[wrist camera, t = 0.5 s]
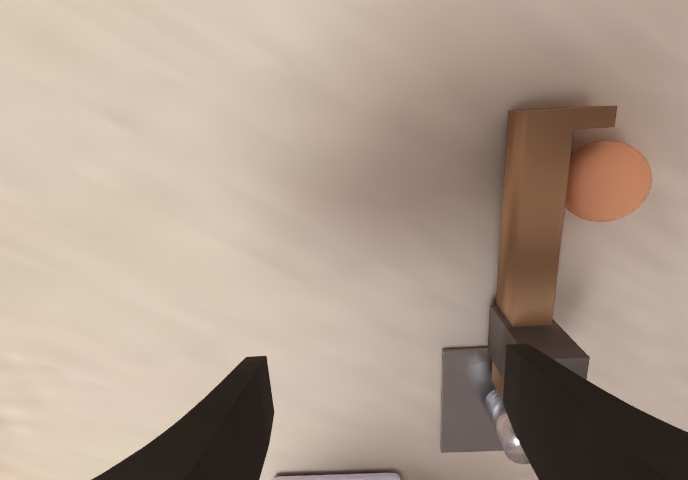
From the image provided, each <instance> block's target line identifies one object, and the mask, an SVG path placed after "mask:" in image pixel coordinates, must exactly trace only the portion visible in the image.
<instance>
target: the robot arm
mask: <svg viewBox="0 0 688 480" xmlns="http://www.w3.org/2000/svg"><path fill="white" fill-rule="evenodd" d="M503 404H504V407H505V410H506V413H507V415H508V418H509V421H510V423H511V426H512V428H513V431H514V433H515V435H516V437H517V439H518V441H519V443H520V445H521V447H522V449H523V451H524V453H525V454H526V456H527V458H528V460H529V462H530V464H531V466H532V468H533V469H534V471H535V473H536V475H537V477H538V479H539V480H688V432H686V431H683V430H681V429H679V428H677V427H674V426H672V425H670V424H668V423H666V422H664V421H662V420H659V419H657V418H655V417H653V416H651V415H649V414H647V413H645V412H643V411H641V410H639V409H637V408H635V407H633V406H631V405H629V404H627V403H626V402H624V401H622V400H620V399H618V398H617V397H615V396H613V395H611V394H609V393H608V392H606V391H604V390H602V389H601V388H599V387H597V386H596V385H594V384H592V383H590V382H589V381H587V380H586V379H584V378H582V377H581V376H579V375H577V374H576V373H574V372H573V371H571V370H569V369H568V368H566V367H565V366H563V365H562V364H560V363H558V362H557V361H555V360H554V359H552V358H551V357H549V356H547V355H546V354H544V353H543V352H541V351H539V350H538V349H536V348H534V347H533V346H531V345H529V344H506V358H505V373H504V388H503ZM273 416H274V407H273V400H272V393H271V386H270V379H269V372H268V365H267V357H266V356H256V357H246V358H245V359H244V360H243V361H242V362H241V363H240V364H239V365H238V366H237V367H236V368H235V369H234V370H233V371H232V372H231V373H230V374H229V375H228V376H227V377H226V378H225V379H224V380H223V381H222V382H221V383H220V384H219V385H218V386H216V387H215V388H214V389H213V390H212V391H211V392H210V393H209V394H208V395H207V396H206V397H205V398H204V399H203V400H202V401H201V402H199V403H198V404H197V405H196V406H195V407H194V408H193V409H191V410H190V411H189V412H188V413H187V414H186V415H185V416H183V417H182V418H181V419H180V420H179V421H178V422H176V423H175V424H174V425H173V426H171V427H170V428H169V429H168V430H166V431H165V432H164V433H162V434H161V435H160V436H158V437H157V438H156V439H154V440H153V441H152V442H150V443H149V444H147V445H146V446H145V447H143V448H142V449H140V450H139V451H137V452H135V453H134V454H132V455H131V456H129V457H128V458H126V459H125V460H123V461H122V462H120V463H118V464H117V465H115V466H114V467H112V468H111V469H109V470H107V471H106V472H104V473H102V474H101V475H99V476H97V477H95V478H94V479H92V480H259V478H260V475H261V471H262V468H263V464H264V461H265V457H266V454H267V450H268V446H269V442H270V436H271V430H272V423H273ZM274 480H400V476H399V475H398V474H396V473H367V474H337V475H307V476H279V477H276V478H274Z"/></svg>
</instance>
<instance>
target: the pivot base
mask: <svg viewBox="0 0 688 480" xmlns="http://www.w3.org/2000/svg"><path fill="white" fill-rule="evenodd" d="M492 362H493V361H492V359H491V357H490V355H489V354H488V347H479V348H456V349H442V391H441V445H440V449H441V453H443V452H472V451H501V450H504V451H505V453H506V455H507V457H508V458H509V459H510V460H512V461H514V462H516V463H520V464H529V463H530V462H529V460H528V458H527V456H526V454H525V453H524V451H523V449H522V447H521V445H520V443H519V441H518V439H517V437H516V435H515V433H514V431H513V428H512V426H511V423H510V421H509V418H508V415H507V413H506V410H505V407H504V404H503V401H502V399H501V397H500V395H499V393H498V392H497V390H496V388H495V386H494V384H493V382H492V380H491V378H492Z"/></svg>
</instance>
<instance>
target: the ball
mask: <svg viewBox="0 0 688 480" xmlns="http://www.w3.org/2000/svg"><path fill="white" fill-rule="evenodd" d="M651 181H652V178H651V169H650V167H649V164H648V162H647V161H646V159H645V158H644V156H643V155H642V154H641V153H640V152H639V151H638V150H636V149H635V148H633V147H631V146H629V145H627V144H624V143H620V142H615V141H601V142H595V143H591V144H588V145H586V146H584V147H582V148H580V149H578V150H577V151H575V152H574V153H573V154H571V155H570V164H569V173H568V182H567V191H566V200H565V207H566V208H567V209H568V210H569V211H570V212H571V213H573V214H574V215H576V216H578V217H580V218H583V219H586V220H589V221H597V222H604V221H612V220H616V219H619V218H622V217H624V216H626V215H628V214H630V213H631V212H633V211H634V210H635V209H637V208H638V207H639V206H640V205H641V204H642V202H643V201H644V200H645V198H646V197H647V195H648V193H649V190H650V187H651Z"/></svg>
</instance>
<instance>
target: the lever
mask: <svg viewBox="0 0 688 480" xmlns="http://www.w3.org/2000/svg"><path fill="white" fill-rule="evenodd" d="M616 111H617V106H582V107H566V108H549V109H533V110H517V111H508V125H507V141H506V157H505V172H504V188H503V204H502V220H501V236H500V251H499V267H498V283H497V299H496V305H490V318H489V336H488V354H489V355H490V357H491V359H492V361H493V362H492V378H491V380H492V382H493V384H494V386H495V388H496V390H497V392H498V393H499V395H500V397H501V399H502V401H503V388H504V373H505V358H506V344H529V345H531V346H533V347H534V348H536V349H538V350H539V351H541V352H543V353H544V354H546V355H547V356H549V357H551V358H552V359H554V360H555V361H557V362H558V363H560V364H562V365H563V366H565V367H566V368H568V369H569V370H571V371H573V372H574V373H576V374H577V375H579V376H581V377H582V378H584V379H586V378H587V372H588V365H589V358H590V357H589V356H588V355H587V354H586V353H585V352H584V351H583V350H582V349H581V348H580V347H579V346H578V345H577V344H576V343H575V342H574V341H573V340H572V339H571V338H570V337H569V336H568V334H567V333H566V332H565V331H564V330H563V329H562V328H561V327H560V326H559V325H558V324H557V323H556V322H555V321H554V320H553V319H552V316H553V307H554V298H555V289H556V280H557V271H558V262H559V253H560V244H561V235H562V226H563V217H564V209H565V200H566V191H567V182H568V173H569V164H570V155H571V146H572V137H573V129H589V128H606V127H614V125H615V118H616Z"/></svg>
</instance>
